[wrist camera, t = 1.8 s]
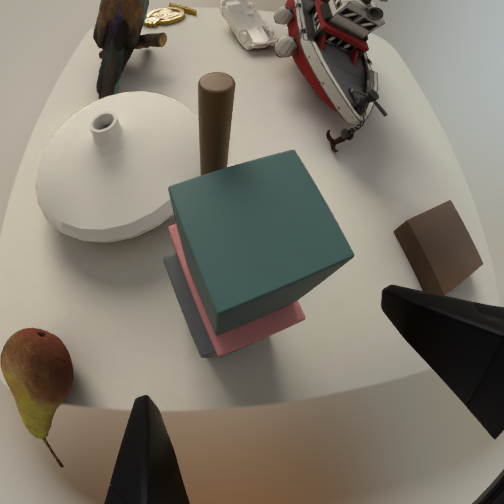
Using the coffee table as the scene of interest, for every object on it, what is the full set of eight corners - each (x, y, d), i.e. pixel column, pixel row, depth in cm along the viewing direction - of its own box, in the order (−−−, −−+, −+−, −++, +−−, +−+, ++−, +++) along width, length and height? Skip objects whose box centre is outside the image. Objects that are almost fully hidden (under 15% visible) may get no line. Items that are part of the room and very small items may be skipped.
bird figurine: (155, 104, 27) (162, -67, 15) (71, 114, 26) (71, -47, 14) (174, 86, 38) (179, -38, 25) (109, 92, 37) (111, -28, 24)
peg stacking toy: (290, 325, 14) (416, 261, 5) (218, 357, 13) (226, 355, 4) (243, 223, 15) (280, 59, 6) (174, 247, 14) (130, 91, 5)
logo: (197, 10, 36) (158, 27, 34) (197, 13, 37) (159, 30, 34) (171, 2, 37) (133, 18, 35) (171, 6, 38) (134, 22, 35)
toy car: (281, 38, 33) (275, 54, 36) (245, -8, 33) (241, 6, 36) (248, 44, 32) (244, 60, 35) (214, -4, 32) (212, 11, 35)
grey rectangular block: (268, 332, 22) (302, 314, 14) (206, 358, 21) (201, 358, 13) (242, 272, 24) (258, 222, 15) (181, 296, 22) (162, 257, 14)
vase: (48, 143, 26) (23, 99, 19) (184, 98, 29) (181, 46, 23) (57, 280, 21) (12, 250, 15) (233, 220, 25) (241, 171, 19)
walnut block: (468, 271, 27) (483, 263, 24) (428, 301, 25) (444, 295, 22) (437, 210, 29) (450, 199, 26) (393, 231, 27) (406, 220, 24)
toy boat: (328, 30, 41) (390, -32, 25) (355, 182, 35) (474, 122, 19) (258, 2, 36) (312, -75, 20) (256, 157, 30) (371, 46, 14)
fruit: (7, 347, 12) (13, 478, 12) (89, 358, 17) (75, 476, 16) (1, 311, 16) (-1, 432, 15) (66, 323, 20) (53, 434, 20)
